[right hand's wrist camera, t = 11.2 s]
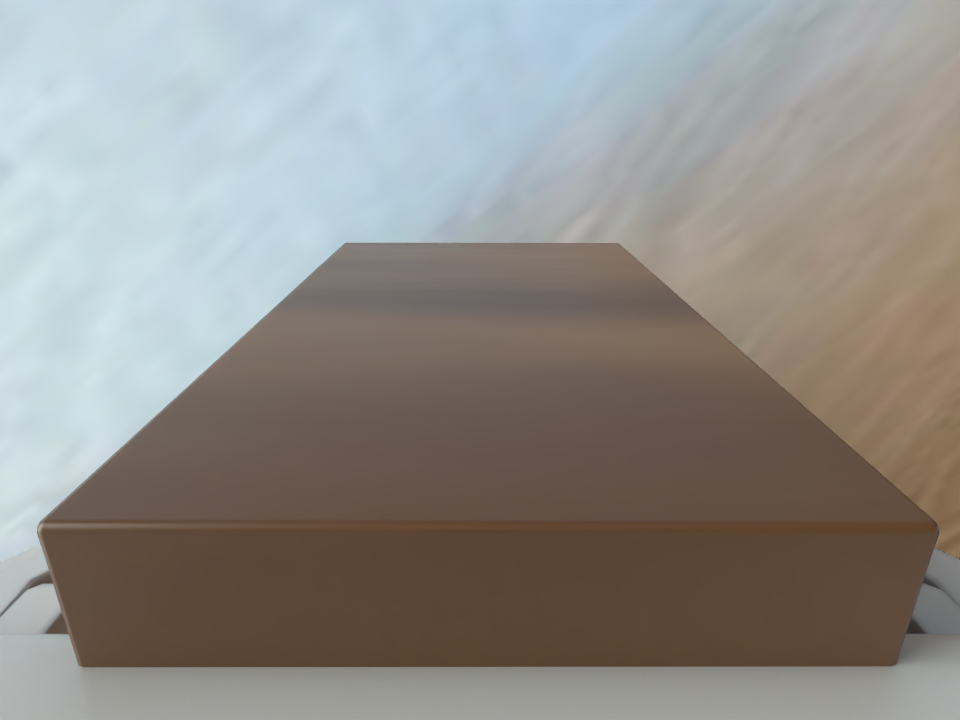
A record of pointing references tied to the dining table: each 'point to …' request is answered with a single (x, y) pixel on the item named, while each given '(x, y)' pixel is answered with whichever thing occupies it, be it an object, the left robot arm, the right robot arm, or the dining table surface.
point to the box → (486, 487)
